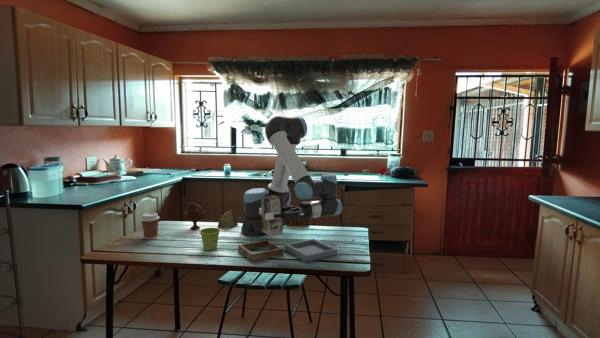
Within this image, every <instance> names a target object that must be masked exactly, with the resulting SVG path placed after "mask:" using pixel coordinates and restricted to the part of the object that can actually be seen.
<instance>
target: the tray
mask: <svg viewBox="0 0 600 338" xmlns="http://www.w3.org/2000/svg"><path fill="white" fill-rule="evenodd" d="M284 251H285V252H287V253H288V254H291V255H292V256H293V257H296V258H297V259H299V260H301V261H303V262H304V263H305V264H308V263H309V264H310V263H312V262H317V261H322V260H325V259H330V258H333V257H337V256H338V249H337V248H335V247H334V246H331V245H329V244H327V243H324V242H322V241H320V240H317V239H315V238H310V239H306V240H301V241H296V242H291V243H285V244H284Z"/></svg>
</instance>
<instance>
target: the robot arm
mask: <svg viewBox="0 0 600 338" xmlns="http://www.w3.org/2000/svg"><path fill="white" fill-rule="evenodd" d="M264 134H265V138H266V140H267V142H268V143H269V145H271V146H273V148H274V150H275V151H276V153H277V156H276V161H275V164H274V169H273V174H272V179H271V182H270V183H269V184H268V185H267V189H266V188H264V187H258V188H255V187H254V188H251V189H248V190H246V191H245V192H244V195H243V207H244V209H243V211H244V213H243V215H244V217H243V219H244V220H243V222H242V225H241V228H240V231H241V235H242V236H245V237H253V238H254V237H264V236H267V234H266V233H264V232H262V202H261V197H264V196H271V195H274V196H277V197H280V198H283V211H281V212H273V213H266V220H270V219H280V218H282V219H283V220H291V219H296V218H301V219H310V218H311V219H312V218H314V219H317V218H322V217H333V216H338V215H340V214H342V211H343V205H342V201H341V200H340V199H338V179H337V175H336V174H332V173H331V174H329V173H327V174H325V173H324V174H322V175H320V179H318V180H317V179H316V180H314V179H312V177H311V175H310V174H309V172H308V170H307V169H306V167H305V165H304V163H303V162H302V160H301V159H300V157H299V156H298V153H297V152H296V149H297V146H298V145H300V142H301V139H303V138H305V137H306V136H307V134H308V123H307V122H306V120H305V119H304V117H302V116H300V115H295V114H293V115H292V114H291V115H289V114H288V115H287V114H285V115H284V114H275V115H273V116H271V117H270V118H269V119H268V120H267V122H266V124H265V128H264ZM290 177H291V178H292V180H293V182H294V184H295V186H294V195H295V197H296V198H298V199H299V200H310V199H313V198H314V199H315V198H319V197H320V199H319V200H310V201H301V202H300V203H299V206H298V205H294V204H291V202H292V193H291V191H290V188H289V187H288V183H289V178H290ZM290 204H291V205H290Z"/></svg>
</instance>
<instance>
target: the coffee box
mask: <svg viewBox="0 0 600 338" xmlns="http://www.w3.org/2000/svg"><path fill="white" fill-rule="evenodd" d="M261 202H262V232H264V233H266V234H267V235H268V236H269V237H275V236H279V235H280V236H281V235H283V234H284V232H283V231H284V229H283V223H284V222H283V220H284V219H282V218H280V219H270V220H266V213H273V212H281V211H283V198H280V197H277V196H274V195H271V196H264V197H261ZM267 235H266V236H267Z"/></svg>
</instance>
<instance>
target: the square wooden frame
mask: <svg viewBox="0 0 600 338" xmlns="http://www.w3.org/2000/svg"><path fill="white" fill-rule="evenodd" d="M237 246H238V250H237V251H238V253H239V254H241V255H243V256H244V257H246V258H247V259H248V260H250V261H252V262H257V261H263V260H266V259H267V260H268V259H271V258H272V259H273V258H275V257H280V256H281V257H282V256H284V247H282V246H280V245H278V244H276V243H275V242H273V241H271V240H269V239H263V240H258V241H253V242H247V243H242V244H238V245H237ZM261 248H269V249H270V250H266V251H265V250H264V251H260V252H255V253H254V252H252V250H256V249H261Z"/></svg>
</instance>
